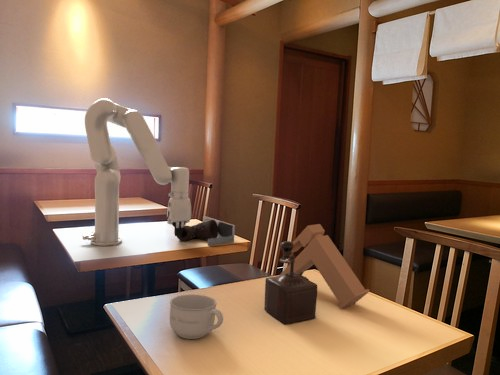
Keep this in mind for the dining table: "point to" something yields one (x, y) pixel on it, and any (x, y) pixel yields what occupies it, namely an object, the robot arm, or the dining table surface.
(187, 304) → the teacup
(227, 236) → the grey angle bracket
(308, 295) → the pepper mill
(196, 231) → the pipe
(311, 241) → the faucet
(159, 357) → the dining table surface
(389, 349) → the dining table surface
